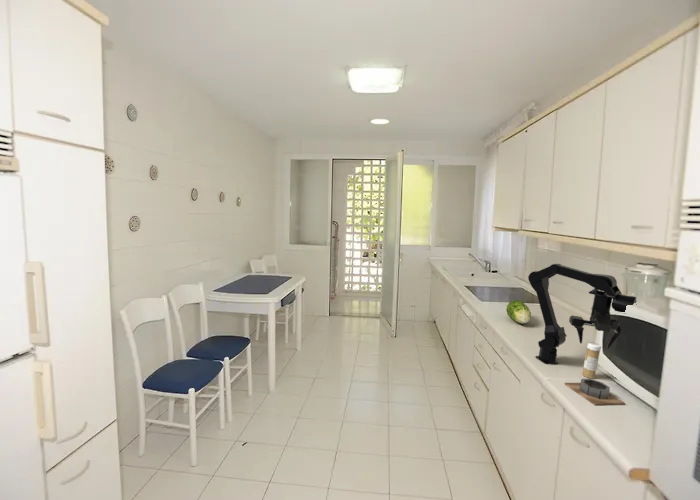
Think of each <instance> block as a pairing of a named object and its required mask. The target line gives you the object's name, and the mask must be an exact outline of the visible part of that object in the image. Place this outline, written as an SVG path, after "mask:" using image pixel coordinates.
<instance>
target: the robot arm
mask: <svg viewBox="0 0 700 500" xmlns="http://www.w3.org/2000/svg"><path fill="white" fill-rule="evenodd" d="M556 275H559V276H562V277H565V278H569V279H572V280H577V281H579V282H582V283H586V284H588V285H589V286H591V287H592V288H593V289H592V290H590V291H588V294H590V295H594V296H593V301H592V307H591V311H590V317H589V320H588V319H584V318H583V317H582V316H579V315H570V316H569V319H568V320H569V321H568V323H570V325H571V326H573V327H574V328H575V329H576V331H577V336H578V340H579V344H582V343H583V337H584V330H585V328H584V326H588V327H589V326H590V327H594V328H595V330H596V331H597V332H598V331H599V332H606V333H610V331H611V329H612V330H614V332H613V331H612V332H611V334H610V336H609V335H608V337H609V338H607V341H606V349H610V348H611V346H612V345H613V343H614V342H615V341H616V340H617V339H618V338H619V337H618V336H619V334H620V331H621V329H620V326H618V325H619V323H620V321H619V320H618V319H611V309H613V310H614V312H618V313H621V312H625V310H626V306H627V305H633V304H634V303H636V302H637V298H638V297H637V296H635V295H627V294H622V291H621V290H620V288H619V286H618V282H617V279H616V278H615V276H612V275H609V274H602V273H601V274H600V273H591V272H588V271H584V270H581V269H580V270H579V269H576V268H573V267H570V266H566V265H562V264H561V263H553V264H551V265H549V266H547V267H544V268H542V269H541V270H535V271H531V272H530V273H529V275H528V282H529V283H530V286H531V288H532V289H533V290H534V291H535V293H536V296H537V300H538V304H539V308H540V311H541V316H542V318H543V322H544V333H543V334H544V338H543V339H541V340H539V341H538V342H537V343H538V344H537V345H538V347H539V351H538V355H535V358H536V359H537V360H539V361H540V362H542V363H543V364H548V365H551V364H552V365H554V364H557V365H558V364H559V362H558V361H557V355H558V354H557V353H558V349H557V348H558V347H560V346H561V345H562V344H565V342H566V338H567V334H566V330H565V327H564V326H562V327H561V326H560V325H559V324H558V321H557V318H556V314H555V311H554V307H553V304H552V301H551V297H550V293H549V286H550V281H549V279H550V278H552V277H554V276H556ZM617 332H618V333H619V334H617ZM617 337H618V338H617ZM616 338H617V339H616Z"/></svg>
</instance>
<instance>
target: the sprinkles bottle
mask: <svg viewBox="0 0 700 500" xmlns="http://www.w3.org/2000/svg"><path fill="white" fill-rule="evenodd" d="M601 349H602V345H601V344H599V343H595V342H591V341H589V342H587V345H586V352H585V357H584V362H583V369H582V372H581V375H582V376H583V377H585V378H587V379H595V378H596V372H597V369H598V364H599V359H600V358H599V357H600V352H601Z"/></svg>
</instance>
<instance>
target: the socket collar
mask: <svg viewBox="0 0 700 500" xmlns="http://www.w3.org/2000/svg"><path fill="white" fill-rule="evenodd" d="M580 383H581V384H580V389H579V390H580V391H582V392H583V393H585V394H586V395H588V396H591V397H594V398H597V399H608V397H609V393H610V392H611V391H610V388H611V387H610V386H609V385H608V384H605V383H603V382H601V381H599V380H595V379H594V378H581V379H580Z"/></svg>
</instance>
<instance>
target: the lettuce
mask: <svg viewBox="0 0 700 500" xmlns="http://www.w3.org/2000/svg"><path fill="white" fill-rule="evenodd" d="M506 314H507V316H508V317H509V318H510V319H511V320H513V321H514V322H515V323H517V324H528V322H529V321H530V320H531V318H532V312H531V311H530V308H529V306H527V305H526V303H525V302H524V301H522V300H518V299H514V300H511V301H510V302H508V304H507V305H506Z"/></svg>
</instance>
